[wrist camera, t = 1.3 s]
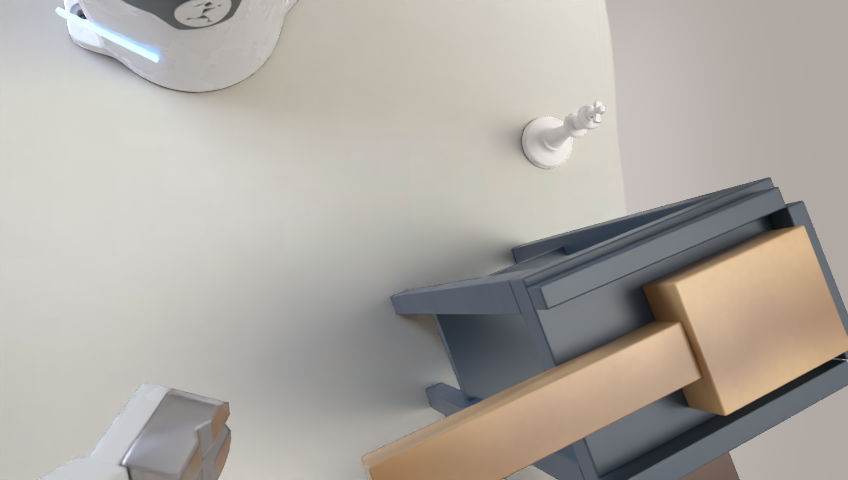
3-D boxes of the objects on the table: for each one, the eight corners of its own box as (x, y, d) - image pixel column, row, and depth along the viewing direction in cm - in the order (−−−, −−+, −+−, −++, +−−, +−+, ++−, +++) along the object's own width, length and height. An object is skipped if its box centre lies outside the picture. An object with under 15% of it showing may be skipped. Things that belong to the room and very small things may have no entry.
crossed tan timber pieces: (345, 415, 22) (353, 426, 20) (764, 231, 28) (804, 224, 26) (398, 559, 22) (412, 585, 20) (808, 345, 28) (853, 348, 26)
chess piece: (571, 122, 58) (632, 83, 48) (569, 172, 57) (630, 143, 48) (523, 113, 57) (575, 72, 47) (520, 165, 56) (572, 134, 47)
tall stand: (389, 296, 52) (534, 276, 24) (526, 243, 55) (792, 170, 27) (431, 407, 52) (627, 520, 23) (565, 346, 55) (874, 380, 27)
